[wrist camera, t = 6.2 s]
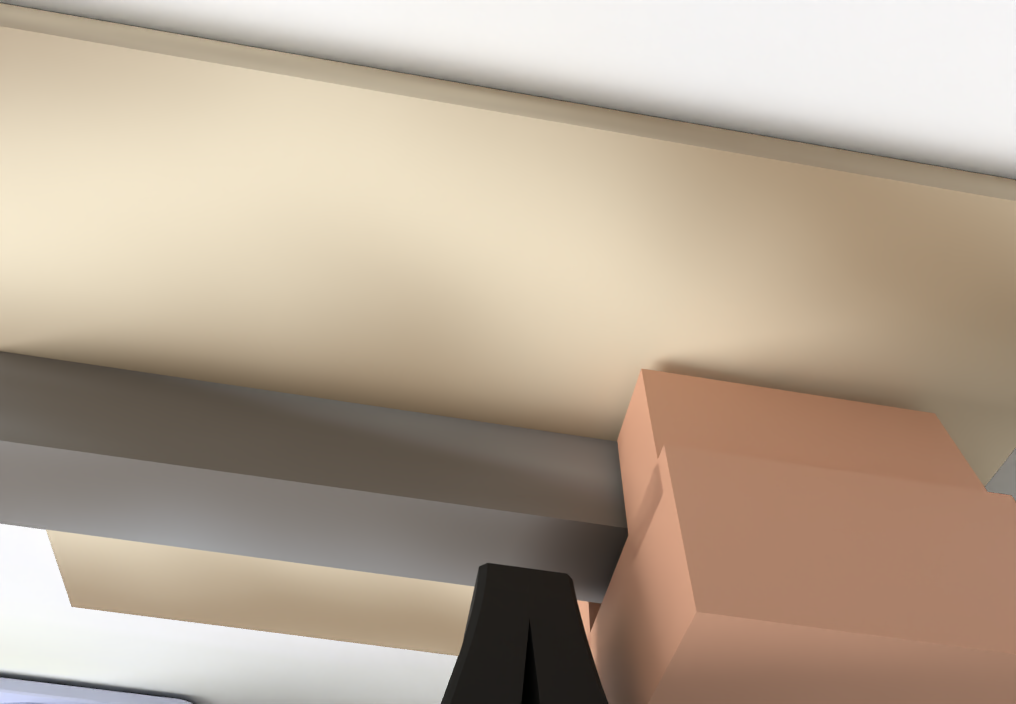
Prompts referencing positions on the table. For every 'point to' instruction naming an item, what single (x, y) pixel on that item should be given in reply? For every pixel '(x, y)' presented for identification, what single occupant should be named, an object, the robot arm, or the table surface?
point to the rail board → (421, 319)
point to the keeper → (801, 555)
